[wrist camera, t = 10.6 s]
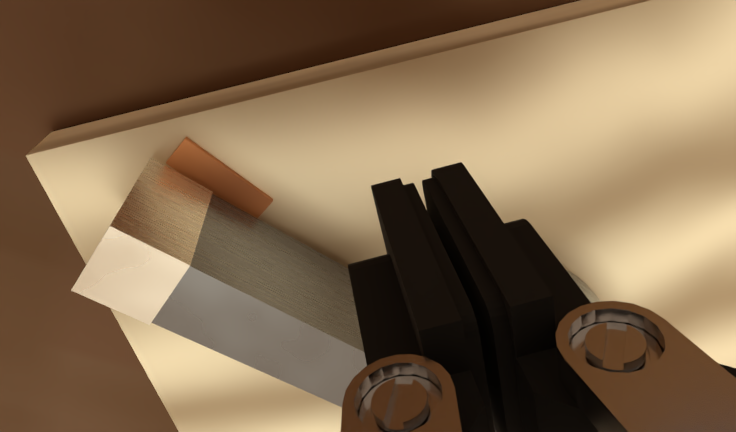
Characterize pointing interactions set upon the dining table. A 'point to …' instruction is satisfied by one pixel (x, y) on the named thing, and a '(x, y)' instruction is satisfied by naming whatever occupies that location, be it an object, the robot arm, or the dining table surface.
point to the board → (446, 147)
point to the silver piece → (230, 284)
